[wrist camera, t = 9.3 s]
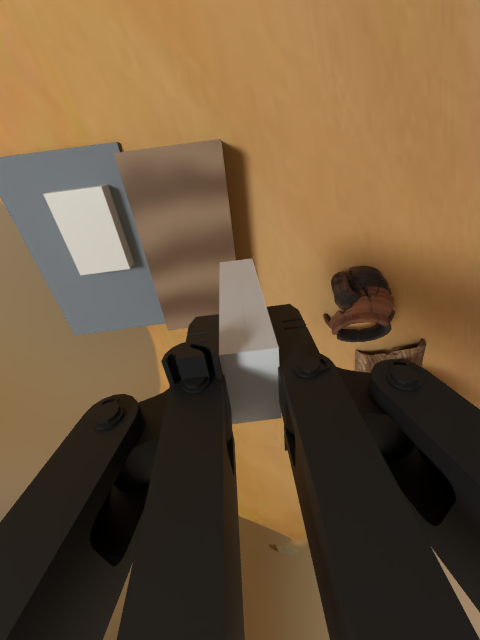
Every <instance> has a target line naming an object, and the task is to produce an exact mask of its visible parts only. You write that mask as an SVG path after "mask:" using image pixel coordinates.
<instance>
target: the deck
mask: <svg viewBox="0 0 480 640" xmlns="http://www.w3.org/2000/svg"><path fill="white" fill-rule="evenodd" d="M114 156H115V159H116V163H117V166H118V169H119V172H120V176H121V179H122V182H123V185H124V189H125V192H126V195H127V198H128V202H129V205H130V208H131V211H132V215H133V218H134V221H135V224H136V227H137V231H138V234H139V237H140V240H141V244H142V247H143V250H144V253H145V257H146V260H147V263H148V266H149V270H150V273H151V276H152V279H153V283H154V286H155V289H156V292H157V296H158V299H159V302H160V305H161V309H162V312H163V315H164V318H165V322H166V325H167V328H168V330H176V329H183V328H188V327H189V324H190V323H191V322H192V321H193V320H194V318H195V317H198V316H206V315H214V314H219V272H220V262H228V261H236V257H235V248H234V240H233V232H232V224H231V216H230V208H229V200H228V191H227V183H226V175H225V167H224V159H223V151H222V143H221V139H218V140H210V141H203V142H195V143H187V144H180V145H172V146H164V147H157V148H149V149H141V150H134V151H126V152H118V153H114Z"/></svg>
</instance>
